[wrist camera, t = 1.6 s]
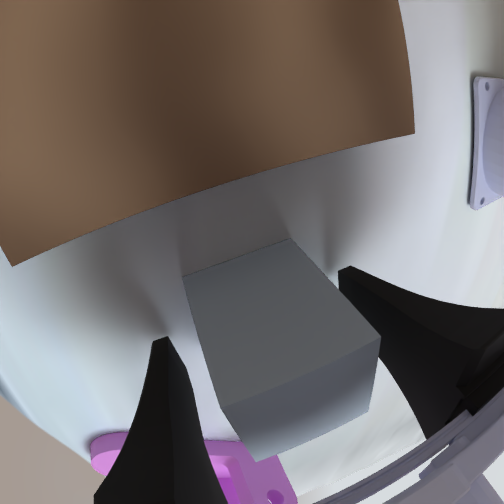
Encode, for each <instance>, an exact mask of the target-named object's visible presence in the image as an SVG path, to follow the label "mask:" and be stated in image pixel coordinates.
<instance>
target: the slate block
mask: <svg viewBox="0 0 504 504" xmlns="http://www.w3.org/2000/svg"><path fill="white" fill-rule="evenodd" d="M182 278H183V282H184V286H185V290H186V294H187V298H188V301H189V305H190V309H191V313H192V316H193V320H194V323H195V327H196V330H197V334H198V337H199V341H200V344H201V348H202V351H203V354H204V358H205V361H206V364H207V368H208V371H209V374H210V377H211V380H212V384H213V387H214V390H215V393H216V396H217V399H218V402H219V405H220V408H221V410H222V411H223V413H224V414H225V416H226V418H227V419H228V421H229V422H230V424H231V425H232V427H233V429H234V430H235V432H236V433H237V435H238V436H239V438H240V439H241V441H242V442H243V444H244V445H245V447H246V448H247V450H248V451H249V453H250V454H251V456H252V457H253V459H254V460H255V462H258V461H261V460H264V459H266V458H269V457H272V456H274V455H277V454H279V453H282V452H284V451H287V450H289V449H292V448H294V447H296V446H299V445H301V444H303V443H306V442H308V441H310V440H312V439H314V438H317V437H319V436H321V435H323V434H325V433H327V432H329V431H331V430H333V429H335V428H337V427H339V426H341V425H343V424H345V423H347V422H349V421H351V420H353V419H355V418H357V417H359V416H360V415H362V414H364V413H366V412H368V409H369V405H370V400H371V395H372V390H373V384H374V379H375V373H376V367H377V361H378V355H379V348H380V341H381V336H380V335H379V334H378V332H377V331H376V330H375V329H374V328H373V327H372V326H371V325H370V324H369V322H368V321H367V320H366V319H365V318H364V317H363V316H362V315H361V314H360V312H359V311H358V310H357V309H356V308H355V307H354V306H353V305H352V304H351V302H350V301H349V300H348V299H347V298H346V297H345V296H344V295H343V294H342V293H341V292H340V290H339V289H338V288H337V287H336V286H335V285H334V284H333V283H332V282H331V281H330V280H329V279H328V277H327V276H326V275H325V274H324V273H323V272H322V271H321V270H320V269H319V268H318V267H317V266H316V265H315V264H314V262H313V261H312V260H311V259H310V258H309V257H308V256H307V255H306V254H305V253H304V252H303V251H302V250H301V249H300V248H299V247H298V246H297V245H296V243H295V242H294V241H293V240H292V239H291V238H290V239H287V240H284V241H281V242H279V243H276V244H273V245H270V246H268V247H265V248H262V249H259V250H257V251H254V252H251V253H248V254H245V255H243V256H240V257H237V258H234V259H232V260H229V261H226V262H223V263H221V264H218V265H215V266H212V267H209V268H207V269H204V270H201V271H198V272H196V273H193V274H190V275H187V276H184V277H182Z"/></svg>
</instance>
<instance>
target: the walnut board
mask: <svg viewBox="0 0 504 504" xmlns="http://www.w3.org/2000/svg"><path fill="white" fill-rule="evenodd" d="M410 134H415V127H414V109H413V96H412V85H411V76H410V67H409V60H408V53H407V46H406V40H405V34H404V28H403V22H402V17H401V12H400V8H399V3H398V0H0V246H1V248H2V250H3V252H4V253H5V255H6V257H7V259H8V261H9V262H10V264H11V266H12V267H13V266H15V265H17V264H19V263H21V262H23V261H26V260H28V259H30V258H32V257H34V256H36V255H39V254H41V253H43V252H45V251H48V250H50V249H52V248H54V247H57V246H59V245H61V244H63V243H66V242H68V241H70V240H73V239H75V238H78V237H80V236H82V235H85V234H87V233H90V232H92V231H94V230H97V229H99V228H102V227H104V226H107V225H109V224H112V223H114V222H117V221H119V220H122V219H125V218H127V217H130V216H132V215H135V214H138V213H140V212H143V211H146V210H148V209H151V208H154V207H157V206H159V205H162V204H165V203H168V202H171V201H173V200H176V199H179V198H182V197H185V196H188V195H191V194H194V193H197V192H200V191H203V190H206V189H209V188H212V187H215V186H218V185H221V184H224V183H227V182H230V181H233V180H237V179H240V178H243V177H246V176H250V175H253V174H256V173H259V172H263V171H266V170H270V169H273V168H276V167H280V166H283V165H287V164H291V163H294V162H298V161H301V160H305V159H309V158H313V157H316V156H320V155H324V154H328V153H332V152H336V151H340V150H344V149H348V148H352V147H356V146H360V145H365V144H369V143H373V142H378V141H382V140H387V139H391V138H396V137H401V136H406V135H410Z"/></svg>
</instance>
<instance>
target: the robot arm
mask: <svg viewBox="0 0 504 504" xmlns="http://www.w3.org/2000/svg"><path fill="white" fill-rule="evenodd" d="M473 86H474V111H475V134H474V161H473V175H472V186H471V196H470V207H471V208H472V209H474V210H478V209H480V208H482V207H484V206H486V205H488V204H489V203H491V202H493V201H495V200H497V199H499V198H501V197H504V79H502V78H491V77H476V78H475V79H474V84H473ZM338 281H339V290H340V292H341V293H342V294H343V295H344V296H345V297H346V298H347V299H348V300H349V301H350V302H351V304H352V305H353V306H354V307H355V308H356V309H357V310H358V311H359V312H360V314H361V315H362V316H363V317H364V318H365V319H366V320H367V321H368V322H369V324H370V325H371V326H372V327H373V328H374V329H375V330H376V331H377V332H378V334H379V335H380V336H381V341H380V348H379V355H378V357H379V358H380V359H381V361H382V362H383V363H384V365H385V366H386V367H387V369H388V370H389V372H390V373H391V375H392V376H393V378H394V380H395V381H396V383H397V384H398V386H399V388H400V389H401V391H402V393H403V394H404V396H405V398H406V399H407V401H408V403H409V405H410V407H411V409H412V410H413V412H414V414H415V416H416V418H417V420H418V422H419V424H420V426H421V429H422V431H423V433H424V435H425V438H426V439H427V440H426V441H425V442H423V443H422V444H420V445H419V446H417V447H416V448H414V449H413V450H411V451H410V452H408V453H407V454H405V455H404V456H402V457H401V458H399V459H398V460H396V461H394V462H393V463H391V464H389V465H388V466H386V467H384V468H383V469H381V470H379V471H378V472H376V473H374V474H372V475H371V476H369V477H367V478H365V479H363V480H361V481H359V482H358V483H356V484H354V485H352V486H350V487H348V488H346V489H344V490H342V491H340V492H338V493H336V494H333V495H331V496H329V497H327V498H325V499H323V500H320V501H318V502H316V503H313V504H356V503H358V502H360V501H362V500H364V499H366V498H368V497H369V496H371V495H373V494H375V493H377V492H378V491H380V490H382V489H384V488H385V487H387V486H388V485H390V484H392V483H394V482H395V481H397V480H399V479H400V478H401V477H403V476H405V475H406V474H408V473H409V472H411V471H412V470H414V469H415V468H417V467H418V466H420V465H421V464H423V463H424V462H426V461H427V460H428V459H430V458H431V457H432V456H434V455H435V454H437V453H438V452H439V451H441V450H442V449H443V448H445V447H446V446H447V445H448V444H449V446H448V447H447V448H446V449H445V450H444V451H443V452H441V453H440V454H439V455H438V456H437V457H435V458H434V459H433V460H432V461H431V463H430V464H429V465H428V466H427V467H426V468H425V469H424V470H423V471H422V472H421V473H420V474H419V477H420V479H421V480H420V481H418V482H417V483H415V484H414V485H412V486H411V487H409V488H408V489H406V490H404V491H403V492H401V493H400V494H398V495H396V496H394V497H393V498H391V499H390V500H388V501H386V502H385V503H383V504H504V502H503V501H502V499H501V498H500V497H499V495H498V494H497V493H496V491H495V490H494V489H493V487H492V486H491V485H490V483H489V482H488V481H487V479H486V478H485V476H484V475H483V474H482V473H483V472H484V471H485V470H486V469H487V468H488V467H489V466H490V465H491V464H492V463H493V462H494V461H495V460H496V459H497V458H498V457H499V455H501V453H502V452H503V451H504V309H497V308H478V307H469V306H463V305H457V304H452V303H447V302H443V301H439V300H435V299H432V298H428V297H425V296H422V295H419V294H416V293H413V292H410V291H408V290H405V289H403V288H400V287H398V286H395V285H393V284H391V283H388V282H386V281H384V280H381V279H379V278H377V277H375V276H373V275H370V274H368V273H366V272H364V271H362V270H359V269H357V268H355V267H353V266H348V267H346V268H344V269H341V270H339V271H338ZM94 504H228V502H227V499H226V497H225V495H224V493H223V490H222V488H221V486H220V483H219V481H218V478H217V476H216V473H215V471H214V468H213V466H212V463H211V460H210V457H209V455H208V452H207V449H206V446H205V443H204V439H203V435H202V431H201V426H200V421H199V417H198V412H197V407H196V402H195V397H194V392H193V388H192V385H191V381H190V378H189V375H188V372H187V369H186V366H185V365H184V363H183V361H182V360H181V358H180V356H179V355H178V353H177V351H176V349H175V348H174V346H173V344H172V342H171V341H170V339H169V337H168V336H167V337H164V338H161V339H158V340H155V341H153V343H152V347H151V353H150V359H149V364H148V369H147V373H146V377H145V382H144V386H143V390H142V394H141V397H140V401H139V404H138V408H137V411H136V414H135V417H134V420H133V422H132V425H131V428H130V430H129V433H128V435H127V437H126V440H125V442H124V444H123V446H122V449H121V451H120V453H119V455H118V456H117V458H116V460H115V462H114V464H113V466H112V468H111V469H110V471H109V473H108V475H107V476H106V478H105V479H104V481H103V482H102V484H101V485H100V487H99V488H98V490H97V491H96V493H95V494H94Z"/></svg>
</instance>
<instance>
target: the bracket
mask: <svg viewBox="0 0 504 504" xmlns="http://www.w3.org/2000/svg"><path fill="white" fill-rule="evenodd" d="M128 433H129V432H117V433H110V434H106V435H103V436H100V437H98V438H96V439H95V440H94V441H93V442H92V443H91V445H90V452H91V465H92V467H93V468H94V469H95V470H96V471H97V472H99V473H101V474H103V475H105V476H107V475H108V473H109V471H110V469H111V468H112V466H113V464H114V462H115V460H116V458H117V456H118V455H119V453H120V451H121V449H122V446H123V444H124V442H125V440H126V437H127V435H128ZM204 443H205V446H206V449H207V452H208V455H209V457H210V460H211V463H212V466H213V468H214V471H215V473H216V476H217V478H218V481H219V483H220V486H221V488H222V490H223V493H224V495H225V497H226V499H227V502H228V504H271V503H272V504H298V502H297V497H296V495H295V492H294V490H293V488H292V486H291V484H290V482H289V480H288V478H287V476H286V474H285V471H284V469H283V467H282V465H281V463H280V461H279V458H278V456H277V455H274V456H272V457H269V458H266V459H264V460H261V461H258V462H255V460H254V459H253V457H252V456H251V454H250V453H249V451H248V450H247V448H246V447H245V445H244V444H243V442H233V441H212V440H204ZM267 498H268V499H269V500H270V501H271V503H270V502H269V501H268V499H267Z"/></svg>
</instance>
